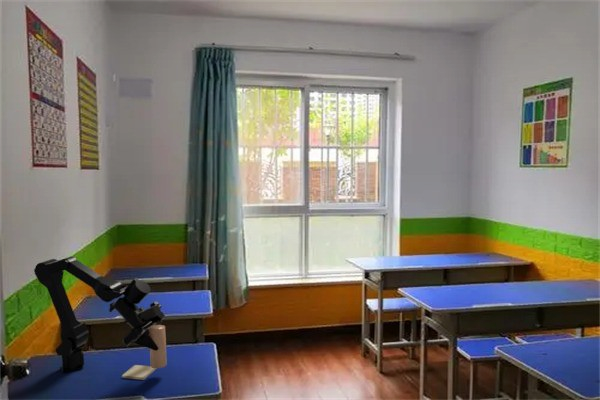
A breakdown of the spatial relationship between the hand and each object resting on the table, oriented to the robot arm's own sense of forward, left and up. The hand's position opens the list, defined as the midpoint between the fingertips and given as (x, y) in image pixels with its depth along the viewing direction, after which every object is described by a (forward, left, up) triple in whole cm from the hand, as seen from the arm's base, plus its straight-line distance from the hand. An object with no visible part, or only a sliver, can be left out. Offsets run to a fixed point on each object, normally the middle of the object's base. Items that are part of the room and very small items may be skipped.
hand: (161, 346), depth 160 cm
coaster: (-7, +6, -10) cm, 14 cm away
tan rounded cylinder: (-1, +1, -7) cm, 7 cm away
